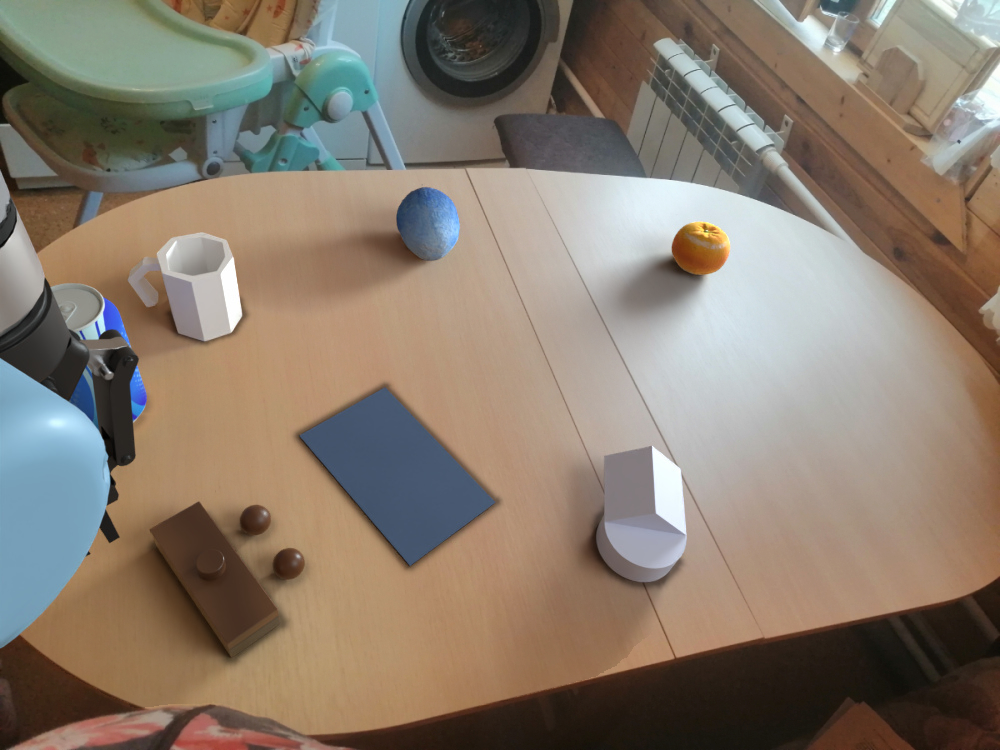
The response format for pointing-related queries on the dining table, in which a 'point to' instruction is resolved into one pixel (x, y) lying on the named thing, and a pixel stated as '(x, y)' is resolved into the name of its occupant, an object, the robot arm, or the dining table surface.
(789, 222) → the dining table surface
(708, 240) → the fruit
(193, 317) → the mug
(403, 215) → the egg
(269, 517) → the ball
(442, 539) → the mat
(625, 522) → the wedge on round base
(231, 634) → the brown block with knob
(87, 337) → the beer can
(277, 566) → the ball
